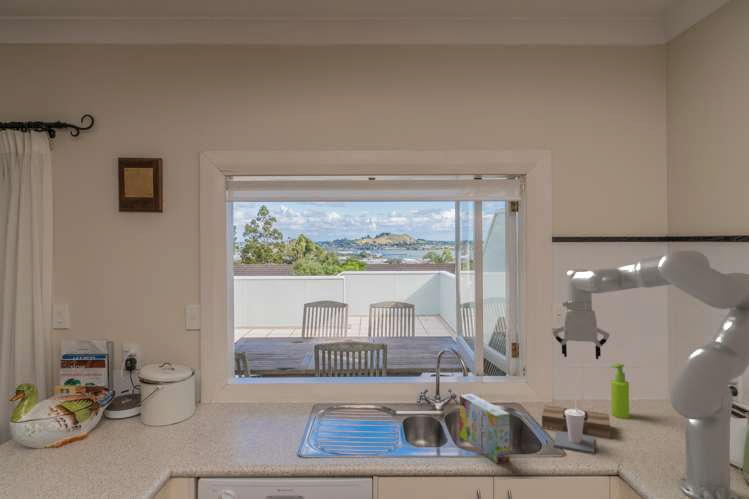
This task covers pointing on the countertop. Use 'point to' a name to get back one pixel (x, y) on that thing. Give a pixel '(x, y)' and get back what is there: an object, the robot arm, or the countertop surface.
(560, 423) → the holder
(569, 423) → the smoothie
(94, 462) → the countertop surface
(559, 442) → the mat
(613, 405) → the soap dispenser
